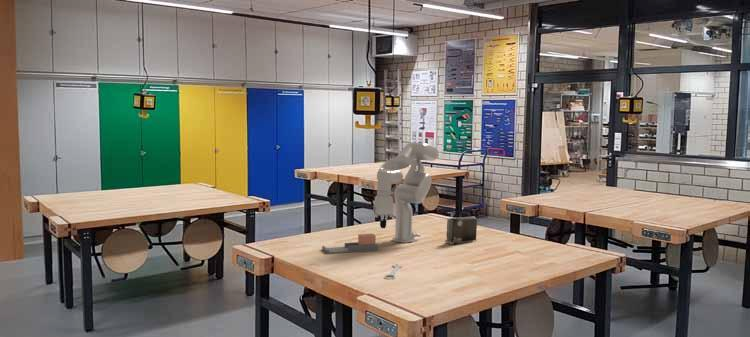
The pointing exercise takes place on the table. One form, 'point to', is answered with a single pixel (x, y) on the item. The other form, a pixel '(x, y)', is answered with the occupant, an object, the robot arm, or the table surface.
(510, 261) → the table surface
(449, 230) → the radio
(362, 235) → the block
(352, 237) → the table surface
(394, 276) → the wrench
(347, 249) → the chute
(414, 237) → the robot arm
